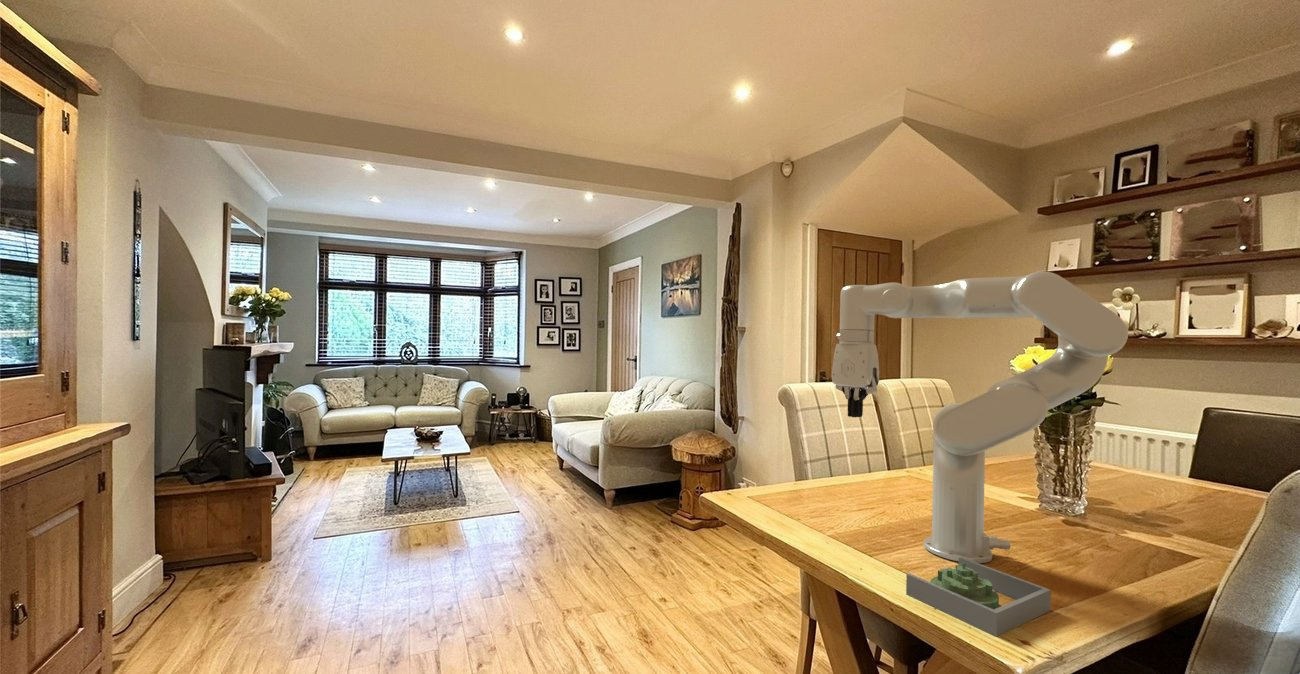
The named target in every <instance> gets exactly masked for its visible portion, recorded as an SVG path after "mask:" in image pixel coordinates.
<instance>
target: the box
mask: <svg viewBox="0 0 1300 674" xmlns="http://www.w3.org/2000/svg"><path fill="white" fill-rule="evenodd" d="M963 562H964V563H965V567H967V568H969V569H973V571H975V572H977V573H978V577H979V578H981V579H987V580H989V581H990V582H991V583H992V585H993V590H994V591H995V592H996V593H1000V594H1002V595H1005V596H1007V597H1010V598H1012V599H1015V600H1014V601H1010V602H1009V603H1006V604H1004V605H1002V606H999V608H996V609H991V608H989V607H987V606H984V605H982V604H980V603H977V602H975V601H973V600H970V599H968V598H966V597H963V596H961V595H959V594H956V593H954V592H952V591H949V590H947V589H945V588H943V587H940V586H938V585H936V584H933V583H931V582H930V581H928V580H926V579H924V578H921V577H919V576H917V575H914V574H912V573H906V576H905V577H906V580H905V583H906V589H905V592H906V593H905V594H906V595H907V596H910V597H912V598H913V599H916V600H918V601H920V602H923V603H924V604H926V605H929V606H930V607H933V608H935V609H938V610H939V611H941V612H944V613H945V614H948V615H949V616H952V617H954V618H956V619H958V620H960V621H963V622H965V623H967V624H969V625H970V626H973V627H975V628H977V629H979V630H982V631H983V632H985V633H987V634H990V635H992V636H994V637H998V636H1000V635H1003V634H1005V633H1007V632H1009V631H1011V630H1013V629H1015V628H1017V627H1020V626H1021V625H1024V624H1026V623H1028V622H1031V621H1033V620H1034V619H1036V618H1039V617H1041V616H1043V615H1044V614H1047V613H1049V612H1051V608H1052V607H1051V604H1052V603H1051V600H1052V599H1051V594H1052V590H1051V589H1049V588H1047V587H1044V586H1042V585H1038V584H1036V583H1033V582H1030V581H1028V580H1026V579H1023V578H1019V577H1018V576H1014V575H1011V574H1009V573H1007V572H1006V573H1005V572H1004V571H1001V570H997V569H995V568H993V567H989V566H987V565H984V564H983V563H976V562H974V561H971V560H968V559H965V558H963V557H959V561H958V565H961V566H962V563H963Z"/></svg>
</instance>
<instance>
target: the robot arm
mask: <svg viewBox="0 0 1300 674" xmlns="http://www.w3.org/2000/svg"><path fill="white" fill-rule="evenodd" d="M839 296H840V300H839V301H840V303H839V304H840V305H839V310H840V311H839V333H837V334H836V338H837V339H838V340H839V343H836V344H835V348H834V354H833V360H832V368H831V382H832V384H834V385H835V390H838V391H840V392H842V393H843V394H844V397H845V399H846V400H847V417H849V418H862V417H863V412H864V401H865V400H866V398H867V397H868V395H871V394H877V393H878V388H877V387H878V385H879V382H880V366H879V365H880V362H879V354H878V349H877V345H876V344H875V316H876V315H881V316H885V317H888V318H892V319H927V318H928V319H929V318H930V319H931V318H932V319H934V318H935V319H936V318H939V319H940V318H942V319H943V318H945V319H947V318H948V319H989V318H990V319H993V318H994V319H995V318H996V319H997V318H1001V319H1002V318H1008V319H1009V318H1010V319H1011V318H1012V319H1013V318H1014V319H1016V318H1017V319H1018V318H1019V319H1020V318H1022V319H1023V318H1035V319H1036V320H1037V321H1039V323H1041V324H1042V325H1043V326H1045V327H1046V328H1047V329H1049V330H1051V332H1053V333H1054V334H1056V335H1057V339H1058V341H1057V342H1058V345H1057V349H1056V350H1055V351H1054V353H1053V354H1052V355H1050V357H1048V358H1047V359H1045V360H1043V361H1041V362H1039V363H1037V364H1036V365H1034V366H1032V367H1030V368H1028V369H1025V370H1024V371H1022V372H1020V373H1017V374H1015V375H1013V376H1011V377H1008V378H1006V379H1003V380H1001V381H998V382H996V383H994V384H992V385H991V386H990V387H989V388H988V389H987V391H986V392H984V393H983V394H981V395H978V396H977V397H974V398H972V399H970V400H968V401H965V402H964V403H960V402H954V403H950V404H949V403H948V404H947V405H944V406H942V407H941V408H940V409H939V410H938V411H937V412H936V414H935V415H934V417H933V422H932V423H933V424H932V438H933V441H932V449H933V450H932V452H933V453H932V454H933V456H932V457H933V458H932V501H931V502H932V505H931V507H932V510H931V511H932V513H931V514H932V516H931V517H932V519H931V521H932V522H931V535H930V536H927V537H925V538H924V539H923V546H924V548H925V549H926V550H927V551H928V552H930V553H932V554H933V555H936V556H938V557H941V558H944V559H947V560H951V561H954V562H959V557H963V558H965V559H968V560H971V561H974V562H976V563H979V564H985V563H986V564H987V563H989V562H991V561H992V559H993V552H992V551H993V550H994V549H998V550H999V549H1000V550H1008V551H1010V549H1011V542H1010V540H1009V539H1000V538H998V537H997V536H995V535H994V536H993V535H988V534H987V533H985V529H984V528H985V526H984V525H985V482H986V480H985V479H986V478H985V477H986V471H985V470H986V467H985V466H986V457H985V453H986V452H985V451H987V450H990V449H992V448H995V447H997V446H1000V445H1002V444H1003V443H1006V442H1008V441H1011V440H1013V439H1016V438H1017V437H1020V436H1023V435H1024V434H1026V433H1028V432H1030V431H1033V430H1034V429H1036V428H1037V427H1039V426H1040V425H1041V424H1042V423H1043V421H1045V418H1046V417H1047V414H1048V411H1050V410H1051V409H1054V408H1056V407H1058V406H1060V405H1061V404H1063V403H1066V402H1068V401H1070V400H1072V399H1074V398H1076V397H1078V396H1080V395H1081V394H1084V393H1085V392H1087V391H1088V390H1089V389H1091V388H1092V387H1093V386H1094V385H1095V384H1096V383H1097V382H1098V381H1099V380H1100V379H1101V377H1102V375H1103V373H1104V371H1105V370H1106V367H1107V365H1108V360H1109V356H1111V355H1114V354H1116V353H1118V352H1119V351H1120V350H1122V349H1123V347H1124V346H1125V345H1126V343H1127V340H1128V338H1129V330H1128V327H1127V325H1126V323H1125V321H1124V320H1123V319H1122V318H1121V317H1120V316H1119V315H1118V314H1116V313H1115V312H1114V311H1113V310H1112V309H1109V307H1106V306H1105V305H1104V304H1102V303H1101V302H1099V301H1098V300H1096V299H1095V298H1093V296H1092V297H1091V295H1089V294H1087V293H1086V292H1085V291H1083V290H1081V289H1080V288H1079V287H1077V286H1076V285H1074V284H1073V283H1071V282H1070V281H1068V279H1066V278H1064V277H1062V276H1061V275H1059V274H1057V273H1054V272H1052V271H1051V272H1050V271H1045V270H1043V271H1041V270H1040V271H1034V272H1032V273H1029V274H1027V275H1020V276H1000V277H999V276H998V277H971V278H969V277H968V278H961V279H957V280H954V281H951V282H950V281H949V282H947V283H942V284H935V285H925V286H922V285H921V286H906V285H904V284H901V283H900V282H886V283H885V282H884V283H880V284H879V283H878V284H873V285H867V284H850V285H846V286H843V287H842V288H841V290H840V295H839Z"/></svg>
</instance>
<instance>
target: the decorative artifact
mask: <svg viewBox="0 0 1300 674" xmlns="http://www.w3.org/2000/svg"><path fill="white" fill-rule="evenodd" d="M929 582H931V583H933V584H936V585H938V586H940V587H943V588H945V589H947V590H949V591H952V592H954V593H956V594H959V595H961V596H963V597H966V598H968V599H970V600H973V601H975V602H977V603H980V604H982V605H984V606H987V607H989V608H991V609H996V608H999V607H1000V606H999V602H1000V601H999V600H1000V597H999V594H998V592H997V591H994V590H993V585H992V583H991V582H990V581H989V580H987V579H981V578H979V577H978V573H977V572H975V571H973V569H969V568H967V567H965V563H964V562H963V563H962V566H961V565H957V564H956V565H955V568H952V567H947V568H940V569H938V570H937V576H935V577H932V578H931V579H930V581H929Z"/></svg>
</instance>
